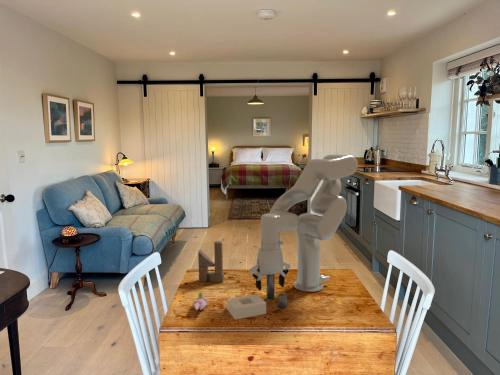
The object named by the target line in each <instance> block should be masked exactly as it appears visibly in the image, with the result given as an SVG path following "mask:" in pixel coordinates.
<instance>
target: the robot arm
mask: <svg viewBox="0 0 500 375" xmlns="http://www.w3.org/2000/svg"><path fill="white" fill-rule="evenodd" d="M358 167H359V163H358V159H357V158H356V157H355V156H353V155H351V154H327V155H325V156H324V157H323V158H313V159H310V160H309V161H308V162H307V163H306V165H305V166H304V168H303V170H302V172H301V173H300V175H299V176H298V178H297V180H296V182H295V184H294V185H293V186H292V187H291V188H290V189H288V190H287V191H285V192H284V193H283V194H282V195H280V196H279V197H278V198H277V199H276V201H274V204H272V207H271V208H270V211H269V212H268V213H264V214H262V215H261V217H260V248H258V249H257V250H258V251H257V256H256V264H255V265H254V266H252V267H250V268H249V269H248V270H249V273H250V275H251V277H253V278H254V279H255V288H256V289H257V290H258V291H261V290H262V278H263V276H266V275H272V274H275V275H278V285H279V286H280V287H281V288H284V287H285V285H284V284H285V281H286V280H285V278H286V276H287V274H288V273H289V270H290V269H291V264H289V263H288V262H285V261H284V255H283V250H282V248H281V246H282V245H283V244H284V242H283V241H281V233H287V232H288V233H290V232H294V231H295V232H296V238H297V266H296V267H297V270H296V271H297V275H296V276H297V279H296V280H295V281H294V282H293V287H294V289H296V290H299V291H301V292H309V293H311V292H312V293H314V292H319V291H321V290H323V288H324V282H325V281H327V282H328V281H330V280H331V277H330V275H325V276H324V274H321V243H320V241H325V242H326V241H329V240H330V239H332V238H333V236H334V235H335V233H336V231H337V230H338V228H339V226H340V224H341V223H342V221H343V219H344V217H345V216H346V213H347V210H348V206H347V205H348V203H347V200H346V199H345V198H344V197H343V196H341V195H339V194H340V193H341V191H342V182H341V179H343V178H347V177H350V176H353V175H354V174H355V173H356V172H357V170H358ZM321 181H322V183H321ZM320 183H321V186H320V187H319V189H318V190H317V188H318V186H319V184H320ZM316 190H317V192H316V193H315V191H316ZM314 194H315V195H314ZM313 195H314V196H313ZM312 197H313V198H312ZM311 198H312V200H311V202H310V210H311V211H312V212H313V213H314V214H313V213H309V212H308V213H307V212H306V213H301V214H300V215H297V214H295V213H293V212H290V211H289V209H290V208H292V207H293V206H294V205H296V204H298V203H300V202H304V201H306V200H309V199H311ZM255 272H257V273H255Z"/></svg>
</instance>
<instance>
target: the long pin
mask: <svg viewBox="0 0 500 375" xmlns="http://www.w3.org/2000/svg"><path fill="white" fill-rule="evenodd" d="M275 275H276V274H272V275H265V278H266V281H265V282H266V283H265V284H266V286H265V287H266V300H269V301H272V300H275V293H276V292H275V289H276V288H275V284H276V283H275V282H276V281H275V278H276V277H275Z"/></svg>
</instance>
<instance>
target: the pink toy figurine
mask: <svg viewBox="0 0 500 375" xmlns="http://www.w3.org/2000/svg"><path fill="white" fill-rule="evenodd" d="M208 302H210V300H209V299H208V300H207V298H206V296H204V295H203V293H202V291H200V292H199V294H198V296H197V298H196V300H192V303H193V308H194V309H195V310H196V311H198V310H200V311H202V310H203V309H205V308H206V307H207V306H208Z"/></svg>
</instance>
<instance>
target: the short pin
mask: <svg viewBox="0 0 500 375" xmlns="http://www.w3.org/2000/svg"><path fill="white" fill-rule="evenodd" d="M277 296H278V297H277V298H278V302H277V303H278V305H277V308H279V309H281V310H284V309H287V307H288V295H287V294H286V293H280V294H278V295H277Z"/></svg>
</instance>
